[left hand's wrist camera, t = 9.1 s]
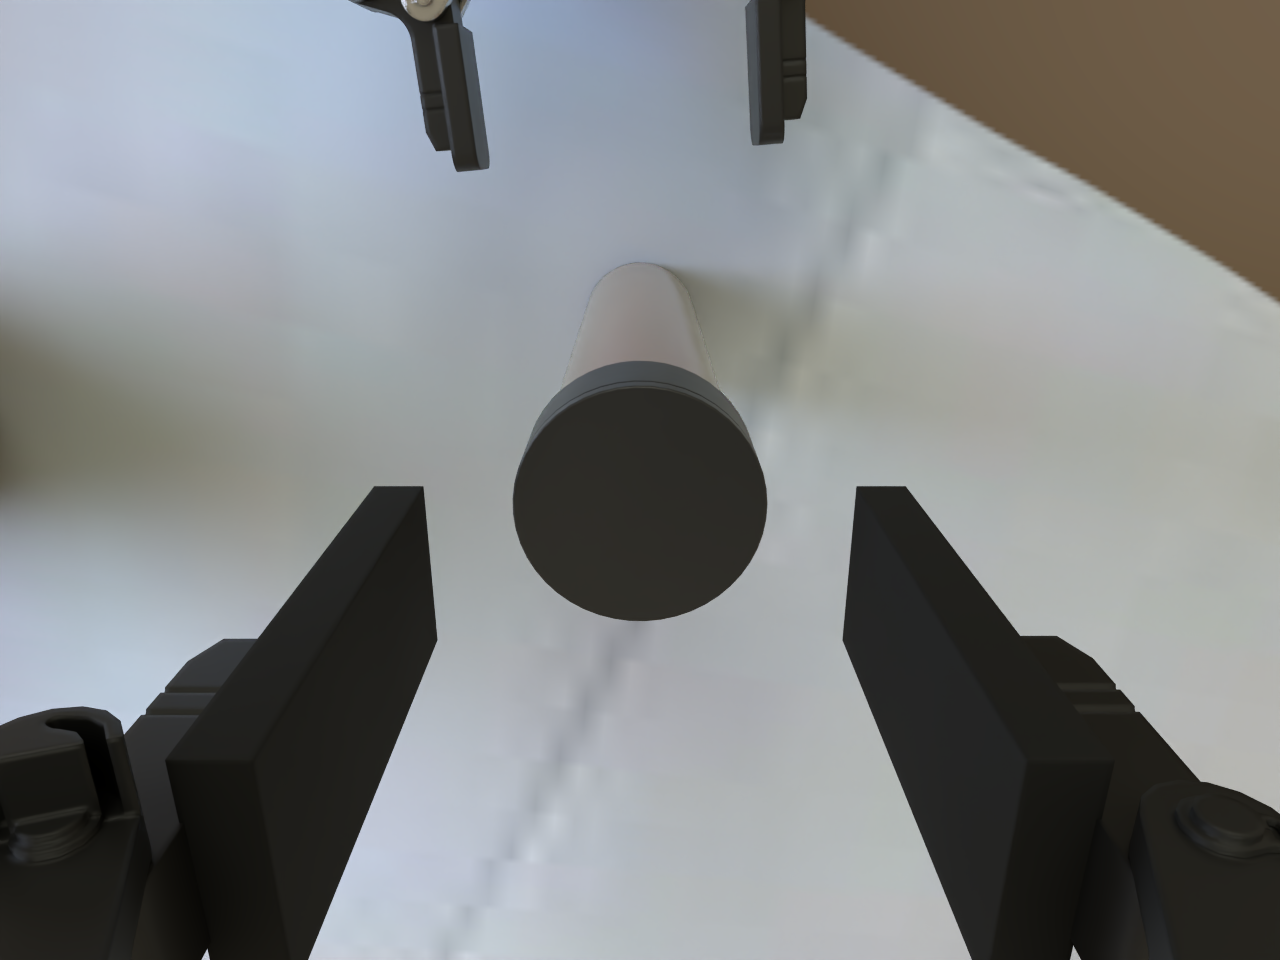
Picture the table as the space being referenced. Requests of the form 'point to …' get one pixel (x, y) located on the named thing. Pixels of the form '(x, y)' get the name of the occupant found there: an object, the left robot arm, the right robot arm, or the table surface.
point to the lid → (639, 492)
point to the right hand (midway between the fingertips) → (620, 157)
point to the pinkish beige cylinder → (639, 324)
